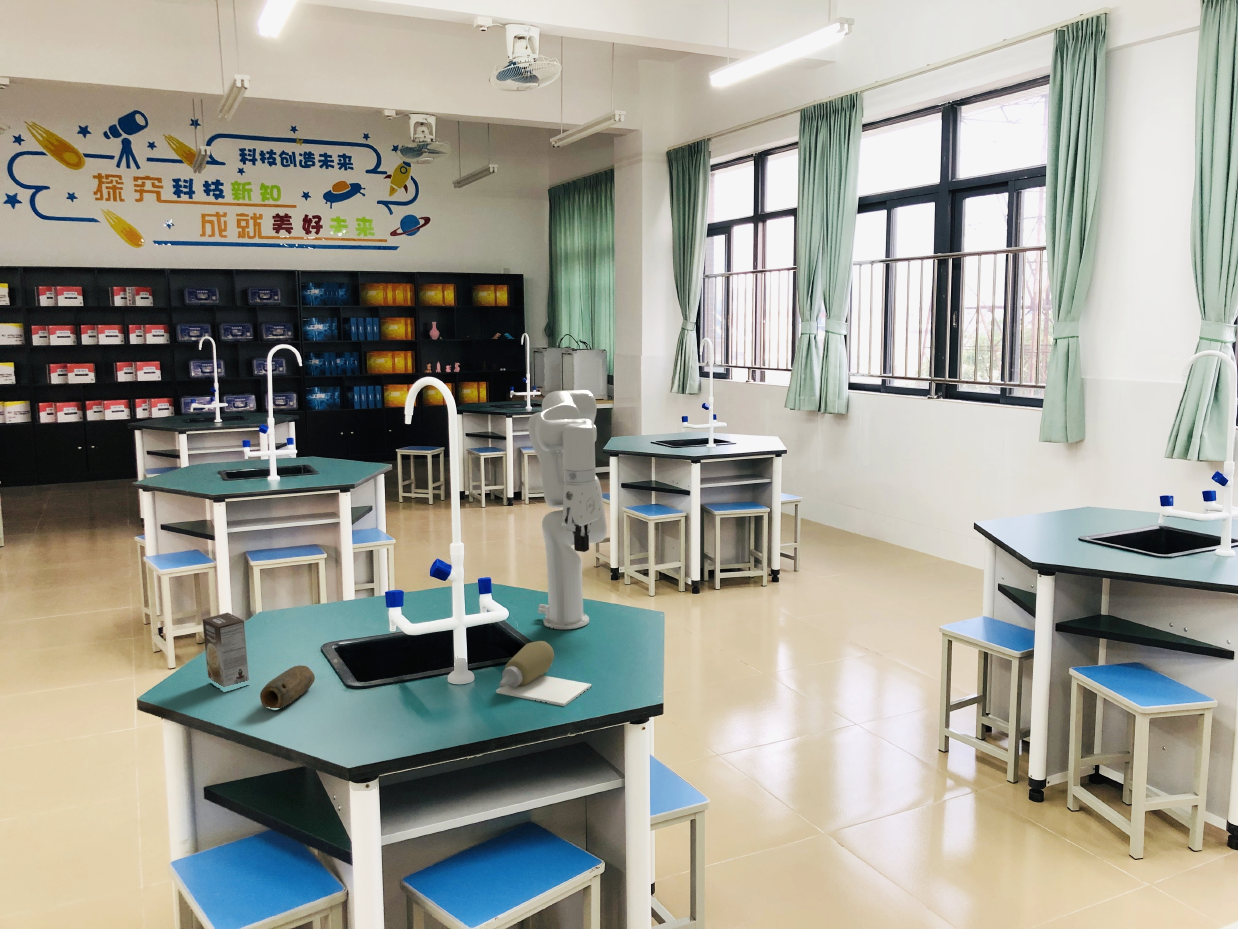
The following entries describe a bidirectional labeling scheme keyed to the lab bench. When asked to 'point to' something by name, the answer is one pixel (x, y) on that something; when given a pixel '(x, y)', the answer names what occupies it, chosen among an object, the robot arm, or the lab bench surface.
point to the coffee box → (225, 649)
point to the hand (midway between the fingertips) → (581, 550)
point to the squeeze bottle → (528, 664)
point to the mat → (548, 690)
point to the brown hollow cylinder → (287, 687)
